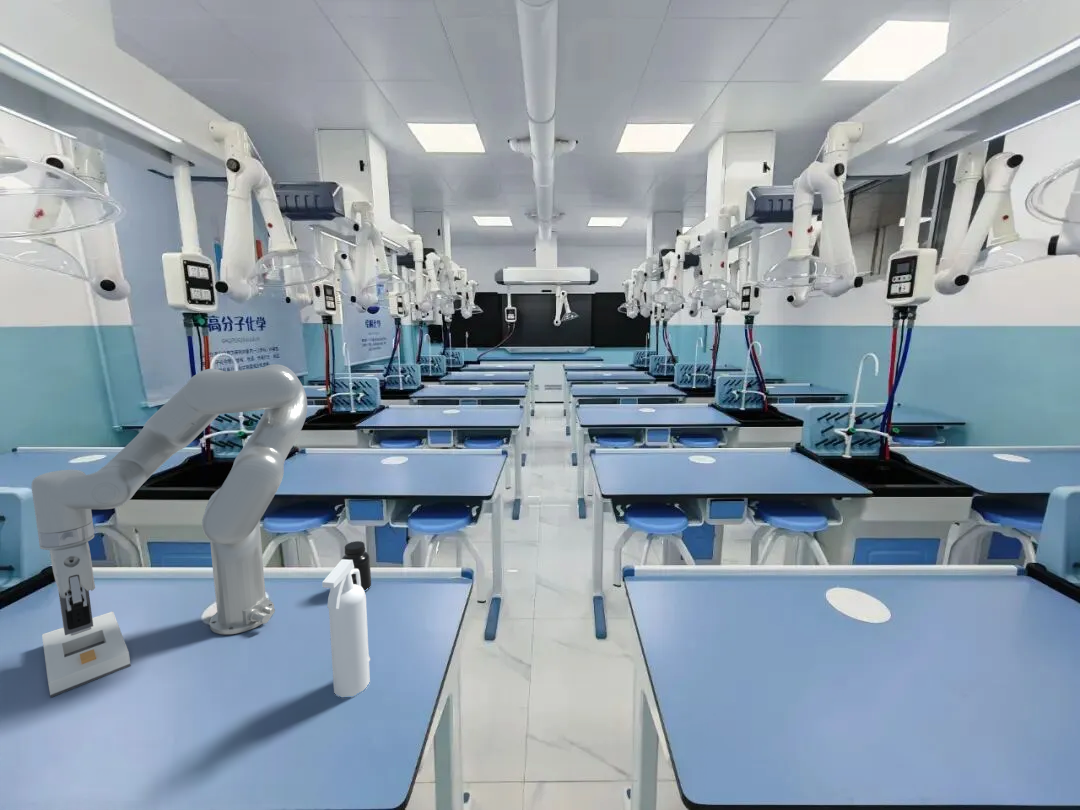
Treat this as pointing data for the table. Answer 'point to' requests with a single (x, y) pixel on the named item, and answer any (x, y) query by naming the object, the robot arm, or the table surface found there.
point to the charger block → (63, 612)
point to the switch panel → (84, 654)
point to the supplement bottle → (359, 562)
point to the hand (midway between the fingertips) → (78, 620)
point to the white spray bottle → (348, 630)
